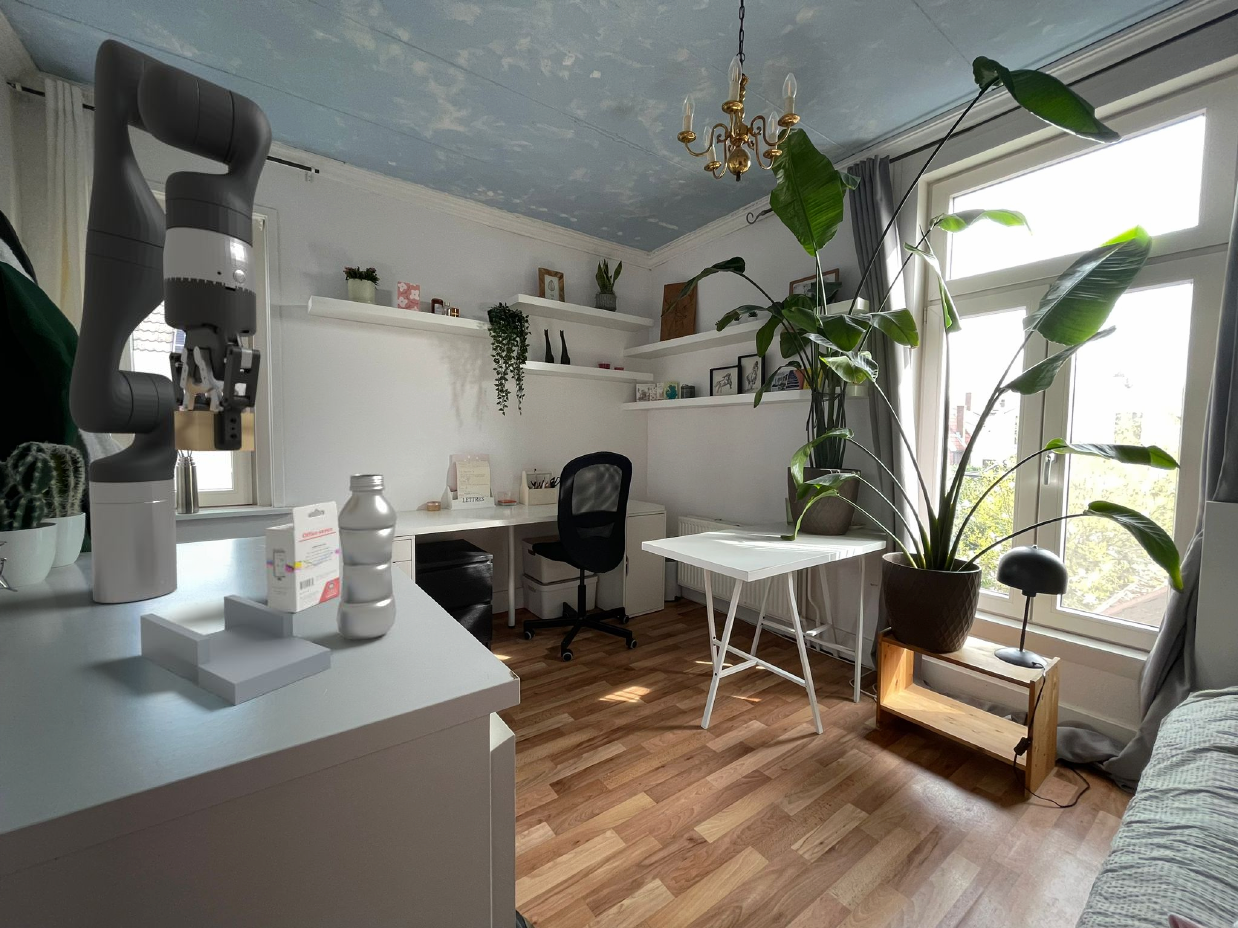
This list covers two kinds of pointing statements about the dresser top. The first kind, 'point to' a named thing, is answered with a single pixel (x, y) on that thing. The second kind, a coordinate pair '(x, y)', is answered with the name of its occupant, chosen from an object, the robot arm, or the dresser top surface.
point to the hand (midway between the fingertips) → (214, 448)
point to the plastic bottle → (366, 560)
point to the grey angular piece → (235, 651)
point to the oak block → (207, 431)
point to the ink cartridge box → (303, 559)
